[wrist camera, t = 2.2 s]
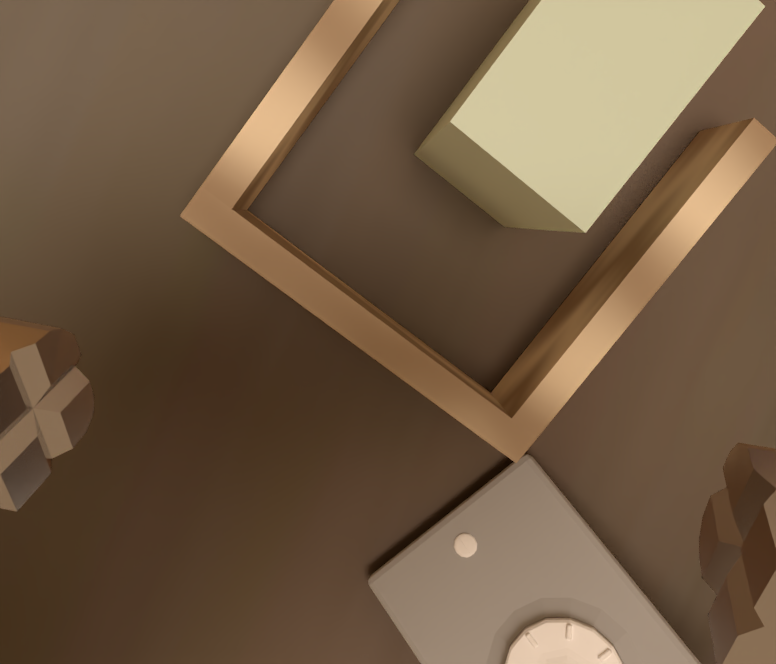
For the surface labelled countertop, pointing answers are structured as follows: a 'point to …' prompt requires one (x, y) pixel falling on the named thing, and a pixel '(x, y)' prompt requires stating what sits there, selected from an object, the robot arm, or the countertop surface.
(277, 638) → the countertop surface
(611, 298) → the wooden frame
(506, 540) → the light switch
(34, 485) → the robot arm
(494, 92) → the pale olive cuboid
